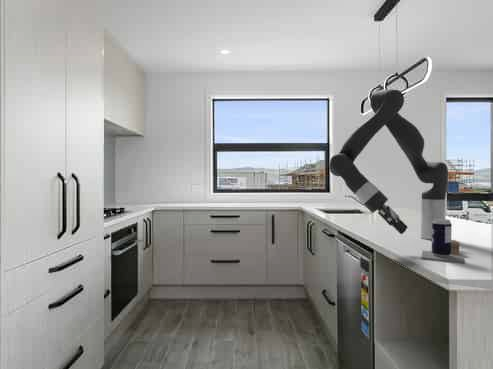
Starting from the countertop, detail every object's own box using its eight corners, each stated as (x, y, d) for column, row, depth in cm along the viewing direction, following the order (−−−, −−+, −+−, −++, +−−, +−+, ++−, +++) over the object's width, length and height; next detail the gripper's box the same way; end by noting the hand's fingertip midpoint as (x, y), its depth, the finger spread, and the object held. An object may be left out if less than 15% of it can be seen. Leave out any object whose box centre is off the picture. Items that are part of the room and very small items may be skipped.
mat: (422, 252, 126) (422, 250, 126) (461, 256, 121) (461, 254, 121) (421, 259, 116) (421, 257, 116) (464, 263, 110) (464, 261, 110)
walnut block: (440, 251, 128) (440, 239, 128) (454, 252, 127) (454, 240, 127) (444, 254, 123) (444, 241, 123) (458, 255, 122) (459, 242, 122)
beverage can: (444, 253, 121) (445, 218, 121) (454, 257, 116) (455, 220, 115) (428, 253, 121) (428, 218, 121) (437, 257, 116) (438, 220, 115)
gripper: (376, 190, 121) (412, 226, 116) (381, 189, 134) (414, 221, 128) (359, 205, 124) (394, 240, 118) (366, 202, 136) (398, 234, 131)
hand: (404, 230), depth 123 cm, fingers open, 8 cm apart
